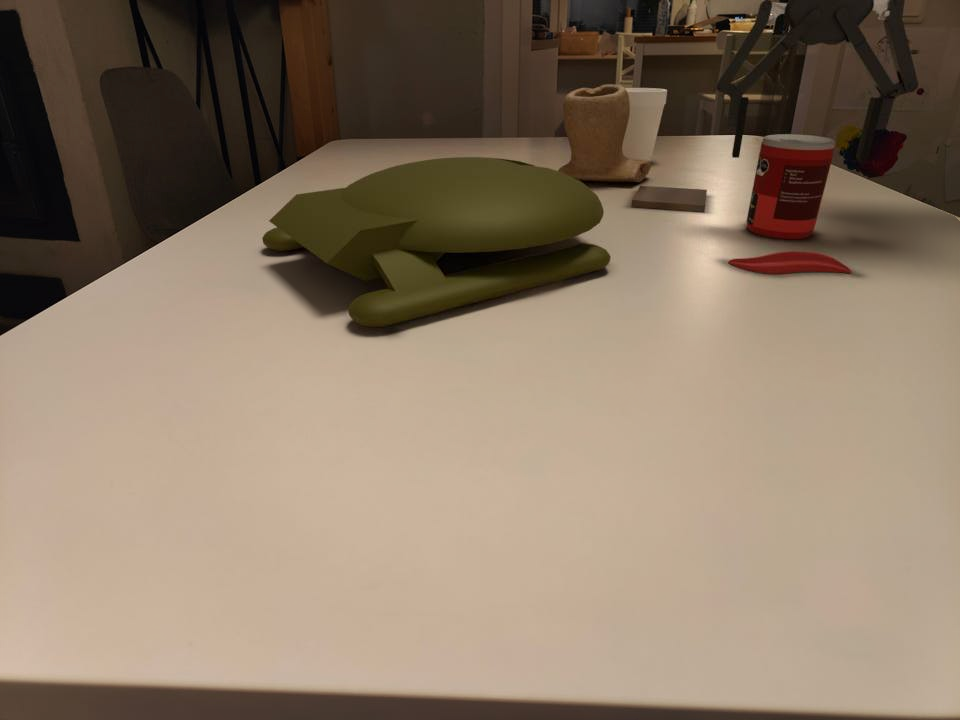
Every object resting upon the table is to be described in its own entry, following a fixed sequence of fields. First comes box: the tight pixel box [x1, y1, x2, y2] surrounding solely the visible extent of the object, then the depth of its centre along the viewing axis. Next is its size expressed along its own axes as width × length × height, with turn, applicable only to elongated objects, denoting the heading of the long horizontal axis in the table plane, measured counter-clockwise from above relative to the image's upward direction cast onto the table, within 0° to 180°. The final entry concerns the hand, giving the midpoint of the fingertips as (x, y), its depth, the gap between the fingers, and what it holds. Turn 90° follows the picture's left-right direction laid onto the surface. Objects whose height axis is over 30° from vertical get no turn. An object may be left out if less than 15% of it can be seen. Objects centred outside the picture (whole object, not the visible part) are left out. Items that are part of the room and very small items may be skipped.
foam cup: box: [622, 87, 668, 161], centre depth 116 cm, size 10×9×13 cm
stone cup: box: [557, 84, 652, 183], centre depth 101 cm, size 15×12×15 cm
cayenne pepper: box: [727, 250, 853, 275], centre depth 64 cm, size 12×5×2 cm, turn 67°
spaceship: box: [261, 156, 611, 328], centre depth 68 cm, size 35×31×10 cm
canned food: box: [746, 133, 836, 240], centre depth 75 cm, size 8×8×11 cm
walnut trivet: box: [631, 185, 708, 213], centre depth 91 cm, size 10×10×1 cm
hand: (796, 158), depth 73 cm, fingers open, 13 cm apart
